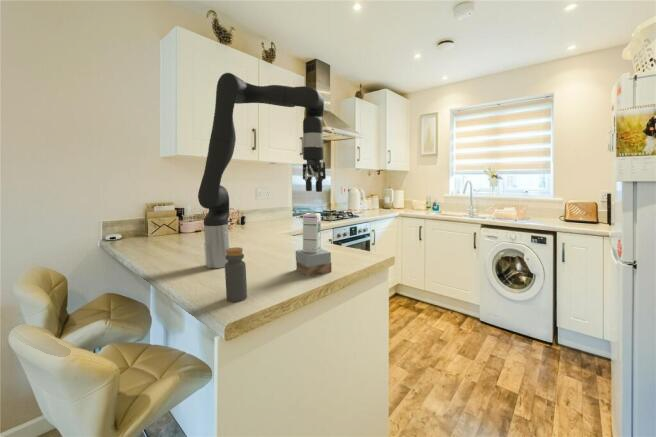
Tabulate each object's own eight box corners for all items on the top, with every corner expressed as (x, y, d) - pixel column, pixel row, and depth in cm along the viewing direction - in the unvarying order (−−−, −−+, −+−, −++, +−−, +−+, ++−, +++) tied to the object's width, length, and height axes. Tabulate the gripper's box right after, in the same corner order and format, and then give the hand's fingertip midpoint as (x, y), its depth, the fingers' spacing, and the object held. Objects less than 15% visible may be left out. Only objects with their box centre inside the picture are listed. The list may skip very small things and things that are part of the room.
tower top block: (307, 266, 108) (306, 256, 107) (295, 260, 117) (295, 250, 116) (330, 262, 113) (330, 252, 112) (318, 257, 121) (318, 247, 121)
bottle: (233, 303, 85) (230, 252, 83) (222, 298, 89) (219, 249, 87) (251, 297, 89) (248, 248, 87) (240, 293, 93) (237, 246, 91)
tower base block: (307, 277, 109) (307, 266, 108) (296, 270, 117) (296, 260, 117) (331, 272, 114) (331, 262, 113) (318, 266, 122) (318, 257, 122)
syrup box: (317, 253, 111) (318, 215, 109) (302, 252, 112) (302, 214, 110) (320, 249, 117) (321, 212, 114) (306, 248, 118) (306, 212, 116)
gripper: (295, 148, 113) (296, 191, 115) (312, 144, 101) (313, 192, 103) (313, 149, 117) (314, 190, 119) (331, 145, 104) (332, 191, 106)
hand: (313, 191), depth 111 cm, fingers open, 8 cm apart
